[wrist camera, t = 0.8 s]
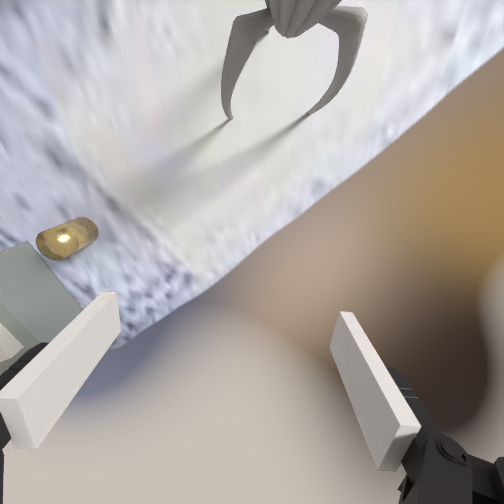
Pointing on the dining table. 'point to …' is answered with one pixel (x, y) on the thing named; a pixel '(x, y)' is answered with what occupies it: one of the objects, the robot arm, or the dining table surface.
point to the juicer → (292, 25)
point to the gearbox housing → (30, 303)
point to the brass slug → (66, 238)
